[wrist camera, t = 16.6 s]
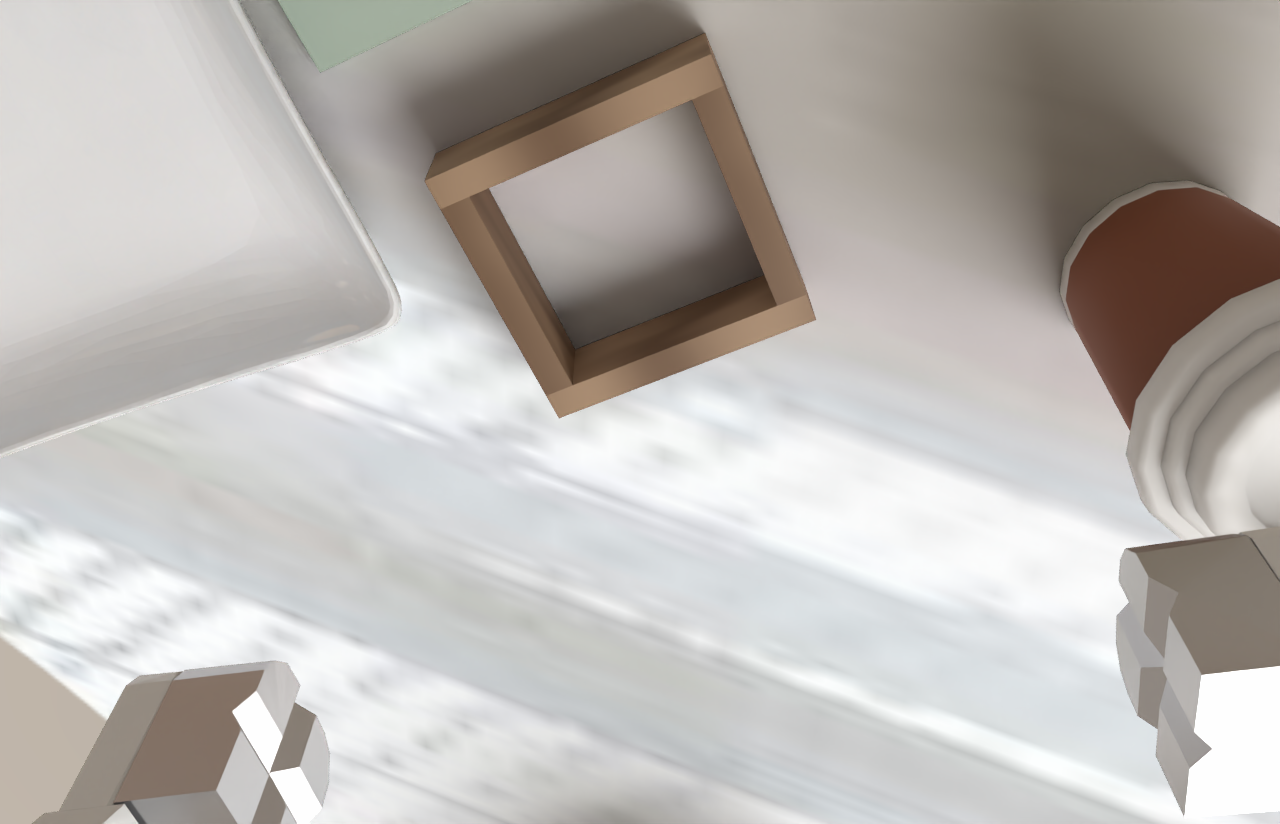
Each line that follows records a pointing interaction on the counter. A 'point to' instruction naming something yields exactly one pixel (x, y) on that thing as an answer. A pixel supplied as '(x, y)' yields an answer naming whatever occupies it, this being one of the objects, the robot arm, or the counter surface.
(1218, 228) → the coffee cup
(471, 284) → the counter surface
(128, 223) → the salad plate
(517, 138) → the walnut collar
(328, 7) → the sage mat
